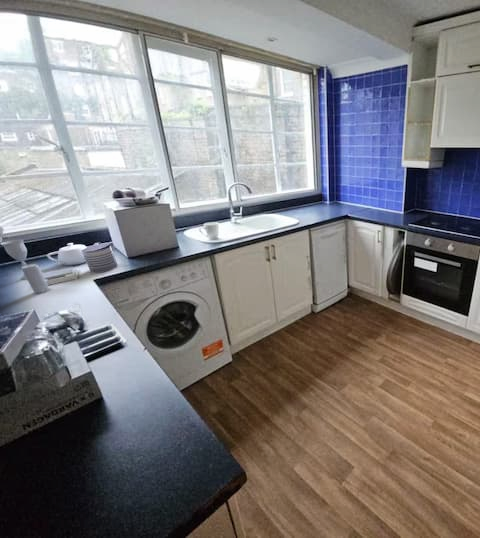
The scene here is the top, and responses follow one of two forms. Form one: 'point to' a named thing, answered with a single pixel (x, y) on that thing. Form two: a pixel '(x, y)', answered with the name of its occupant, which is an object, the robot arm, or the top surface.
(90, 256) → the grey ribbed cylinder
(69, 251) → the teapot
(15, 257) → the chalice
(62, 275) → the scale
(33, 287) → the beverage can
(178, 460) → the top surface
